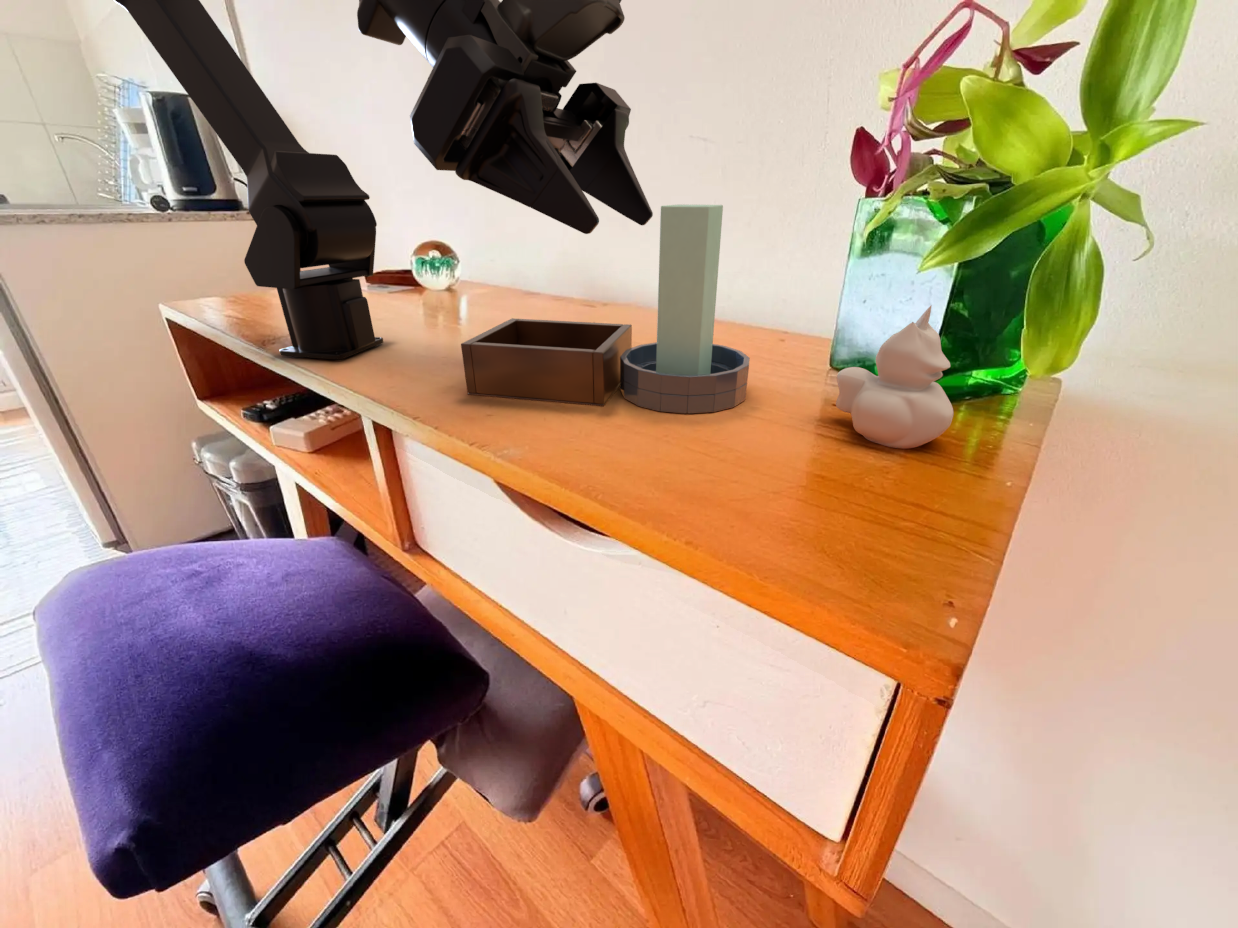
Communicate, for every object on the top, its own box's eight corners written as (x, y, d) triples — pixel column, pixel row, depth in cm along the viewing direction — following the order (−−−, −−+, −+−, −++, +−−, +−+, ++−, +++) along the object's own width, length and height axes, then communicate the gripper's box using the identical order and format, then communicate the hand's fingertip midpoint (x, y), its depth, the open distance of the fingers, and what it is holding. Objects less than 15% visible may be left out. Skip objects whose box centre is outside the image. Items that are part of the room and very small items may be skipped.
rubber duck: (919, 473, 29) (962, 319, 25) (806, 435, 33) (829, 300, 29) (957, 444, 32) (1000, 304, 28) (850, 413, 36) (875, 289, 33)
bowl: (607, 414, 36) (606, 370, 35) (635, 375, 44) (636, 338, 43) (742, 426, 34) (747, 380, 33) (747, 383, 42) (751, 344, 41)
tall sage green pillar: (654, 396, 38) (660, 206, 33) (670, 381, 41) (677, 204, 35) (696, 401, 37) (709, 206, 32) (709, 386, 40) (723, 204, 34)
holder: (468, 401, 39) (460, 343, 37) (515, 367, 46) (511, 318, 44) (604, 413, 37) (603, 352, 35) (631, 375, 44) (631, 324, 42)
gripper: (415, -211, 22) (663, 93, 23) (603, -48, 38) (747, 131, 39) (323, 46, 29) (521, 276, 30) (516, 96, 44) (642, 246, 45)
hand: (623, 224), depth 36 cm, fingers open, 9 cm apart
